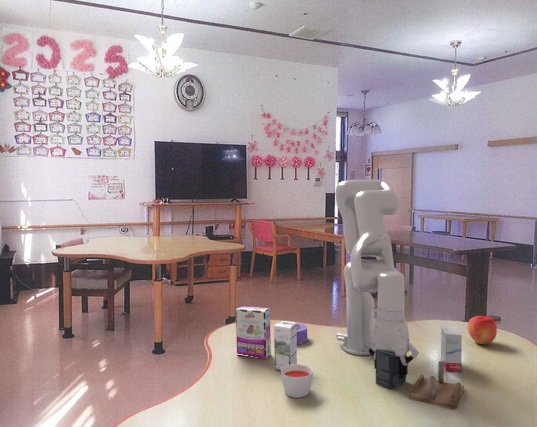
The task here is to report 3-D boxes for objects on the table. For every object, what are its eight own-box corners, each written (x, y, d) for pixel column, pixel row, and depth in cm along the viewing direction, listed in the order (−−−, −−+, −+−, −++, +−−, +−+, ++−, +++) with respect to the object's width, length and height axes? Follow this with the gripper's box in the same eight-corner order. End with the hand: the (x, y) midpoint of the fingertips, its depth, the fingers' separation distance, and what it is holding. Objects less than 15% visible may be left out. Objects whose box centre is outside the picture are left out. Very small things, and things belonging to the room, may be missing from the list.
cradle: (408, 398, 122) (408, 373, 121) (420, 380, 133) (420, 357, 132) (456, 409, 115) (456, 382, 115) (463, 389, 126) (464, 365, 126)
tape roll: (278, 334, 176) (278, 321, 175) (308, 335, 174) (307, 322, 174) (274, 344, 164) (274, 331, 164) (306, 346, 162) (306, 332, 162)
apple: (498, 341, 163) (498, 314, 163) (495, 349, 155) (495, 321, 155) (469, 337, 168) (469, 311, 168) (465, 344, 160) (465, 317, 160)
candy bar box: (271, 354, 154) (270, 307, 153) (266, 359, 150) (265, 311, 149) (242, 350, 159) (241, 305, 158) (236, 355, 154) (235, 308, 153)
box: (389, 375, 136) (389, 341, 135) (406, 381, 132) (406, 346, 131) (374, 384, 131) (375, 348, 130) (392, 390, 126) (392, 353, 126)
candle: (304, 403, 120) (303, 380, 120) (275, 395, 125) (274, 373, 124) (318, 389, 128) (318, 368, 127) (290, 382, 132) (290, 361, 132)
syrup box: (297, 365, 144) (297, 321, 143) (290, 373, 139) (290, 327, 138) (281, 363, 147) (280, 319, 146) (274, 370, 141) (273, 325, 141)
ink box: (461, 372, 137) (462, 335, 137) (445, 371, 138) (445, 334, 138) (456, 361, 146) (456, 326, 145) (440, 360, 147) (440, 325, 146)
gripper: (357, 313, 131) (358, 372, 132) (418, 322, 122) (418, 385, 123) (366, 307, 138) (366, 363, 139) (424, 315, 128) (424, 375, 130)
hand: (390, 373), depth 131 cm, fingers closed on box, 6 cm apart
